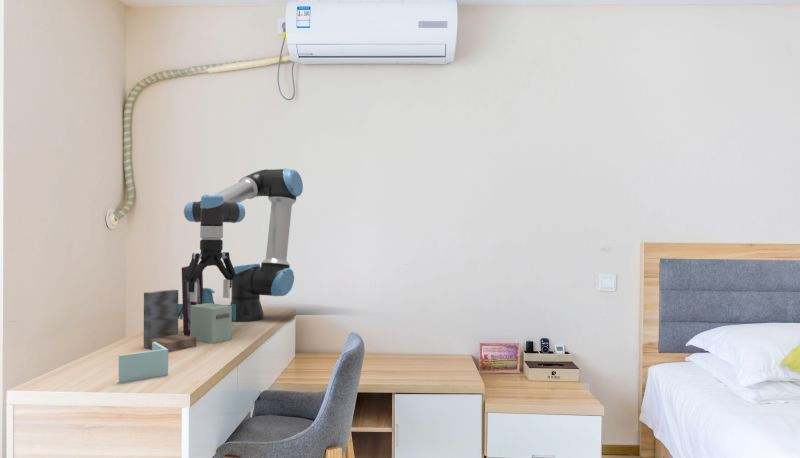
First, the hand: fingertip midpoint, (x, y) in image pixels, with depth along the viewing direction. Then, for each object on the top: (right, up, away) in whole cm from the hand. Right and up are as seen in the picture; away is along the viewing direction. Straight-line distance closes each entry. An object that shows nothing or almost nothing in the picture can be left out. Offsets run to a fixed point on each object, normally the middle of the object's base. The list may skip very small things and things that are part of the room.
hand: (210, 299), depth 193 cm
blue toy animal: (-10, -14, +23) cm, 29 cm away
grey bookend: (-9, -14, -11) cm, 20 cm away
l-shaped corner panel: (-5, -15, -43) cm, 46 cm away
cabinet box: (0, -14, 0) cm, 14 cm away
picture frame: (-15, -14, +13) cm, 24 cm away
